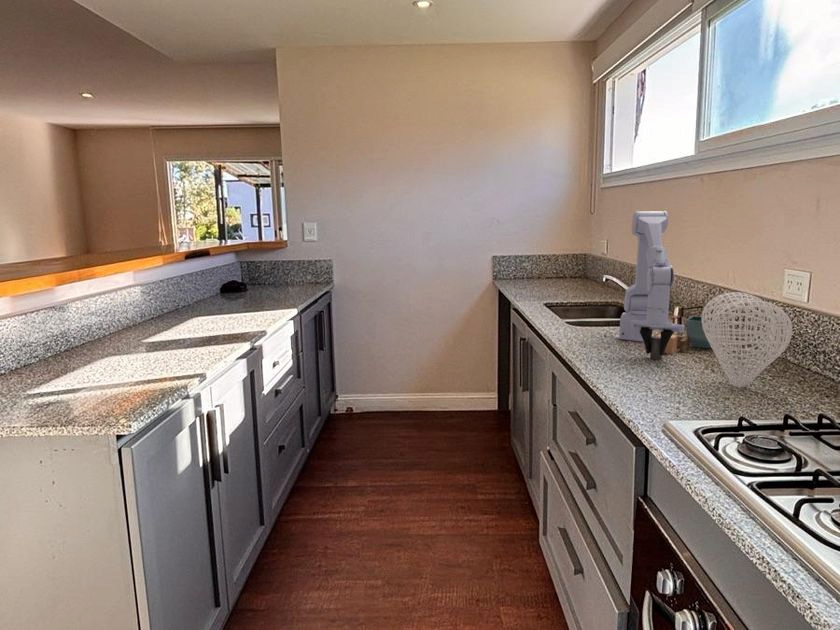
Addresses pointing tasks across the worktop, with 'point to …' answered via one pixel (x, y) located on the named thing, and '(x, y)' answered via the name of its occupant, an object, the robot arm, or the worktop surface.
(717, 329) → the heart
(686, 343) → the lane
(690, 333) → the flower pot
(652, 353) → the tethered block
